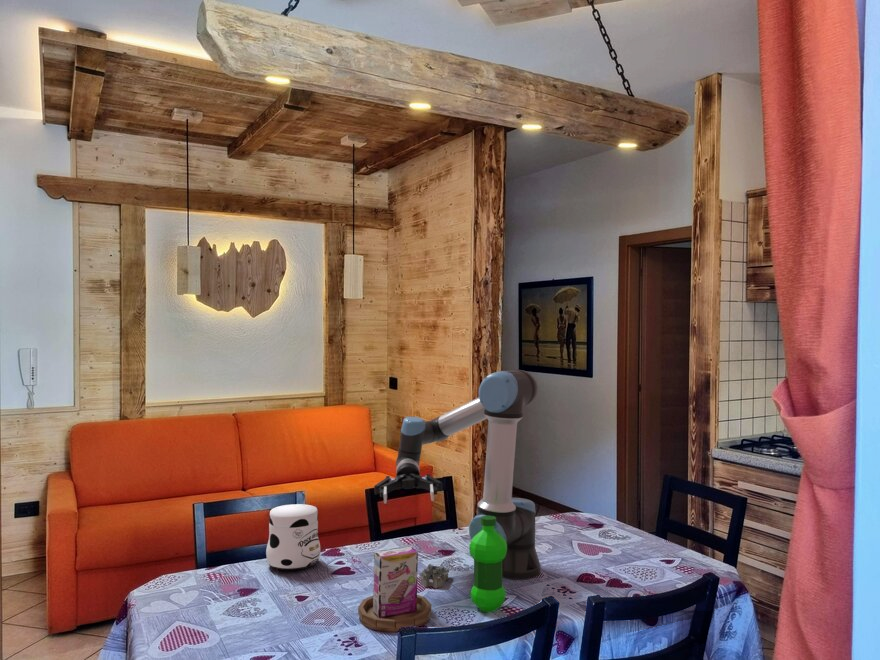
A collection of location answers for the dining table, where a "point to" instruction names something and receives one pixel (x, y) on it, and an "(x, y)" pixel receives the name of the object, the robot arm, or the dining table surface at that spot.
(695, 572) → the dining table surface
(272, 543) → the milk container
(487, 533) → the plastic bottle
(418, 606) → the tray
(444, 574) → the egg carton
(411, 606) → the candy bar box
